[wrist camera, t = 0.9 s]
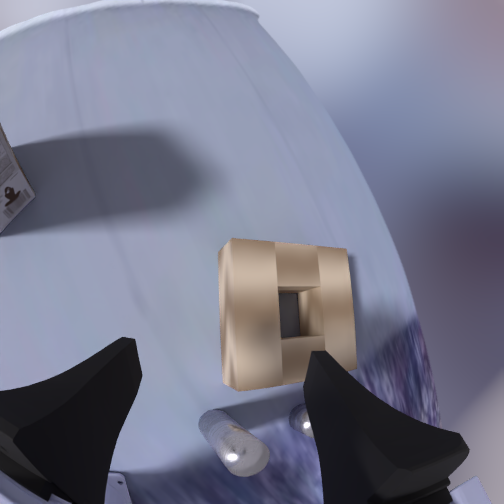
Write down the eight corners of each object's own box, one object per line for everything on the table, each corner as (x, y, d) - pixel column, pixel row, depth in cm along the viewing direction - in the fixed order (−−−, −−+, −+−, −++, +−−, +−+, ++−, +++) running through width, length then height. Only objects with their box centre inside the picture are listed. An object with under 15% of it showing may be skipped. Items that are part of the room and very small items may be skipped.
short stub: (313, 426, 24) (330, 433, 21) (289, 433, 23) (305, 441, 20) (313, 401, 25) (331, 406, 22) (288, 407, 24) (305, 413, 21)
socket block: (331, 366, 27) (356, 368, 23) (223, 382, 22) (238, 391, 18) (323, 258, 30) (346, 248, 26) (218, 252, 25) (232, 238, 22)
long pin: (231, 435, 21) (270, 471, 14) (200, 439, 19) (227, 480, 12) (229, 407, 21) (268, 435, 14) (197, 410, 20) (223, 443, 13)
